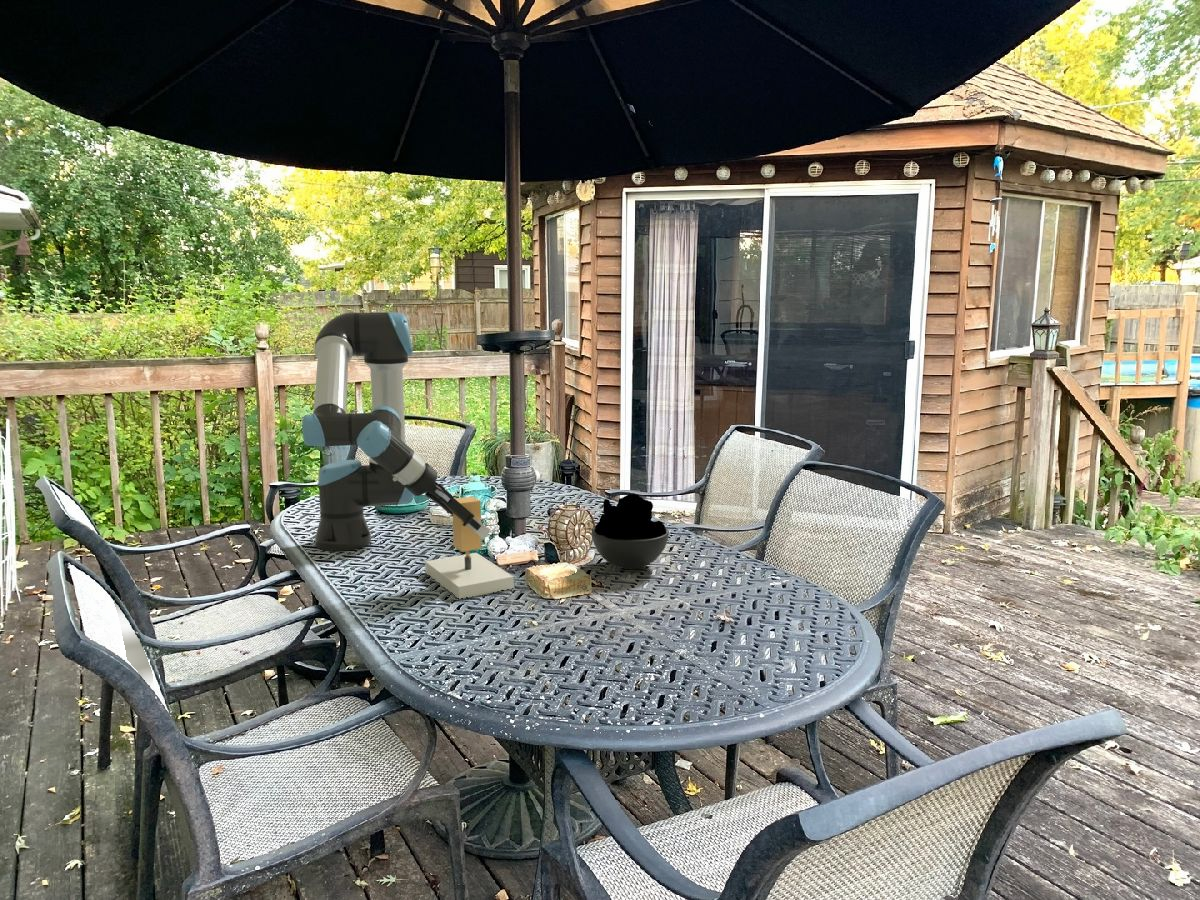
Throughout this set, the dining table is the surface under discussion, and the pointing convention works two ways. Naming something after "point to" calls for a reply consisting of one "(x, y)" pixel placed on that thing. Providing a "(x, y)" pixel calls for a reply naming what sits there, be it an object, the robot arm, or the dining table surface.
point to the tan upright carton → (463, 534)
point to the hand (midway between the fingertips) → (481, 532)
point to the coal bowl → (629, 533)
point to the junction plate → (469, 575)
